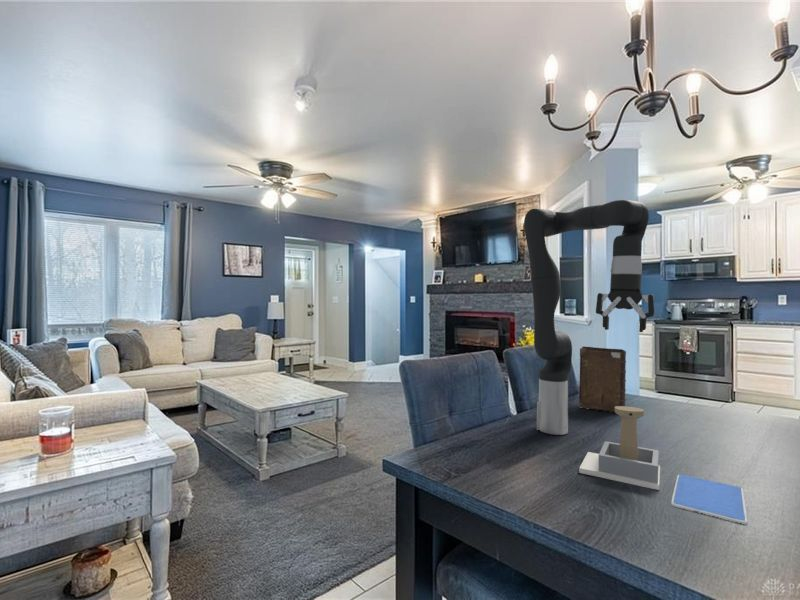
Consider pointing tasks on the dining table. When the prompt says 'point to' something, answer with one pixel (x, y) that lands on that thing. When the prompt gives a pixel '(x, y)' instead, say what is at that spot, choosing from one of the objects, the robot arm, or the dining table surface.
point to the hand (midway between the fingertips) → (623, 330)
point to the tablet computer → (710, 498)
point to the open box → (624, 466)
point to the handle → (629, 431)
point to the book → (602, 378)
